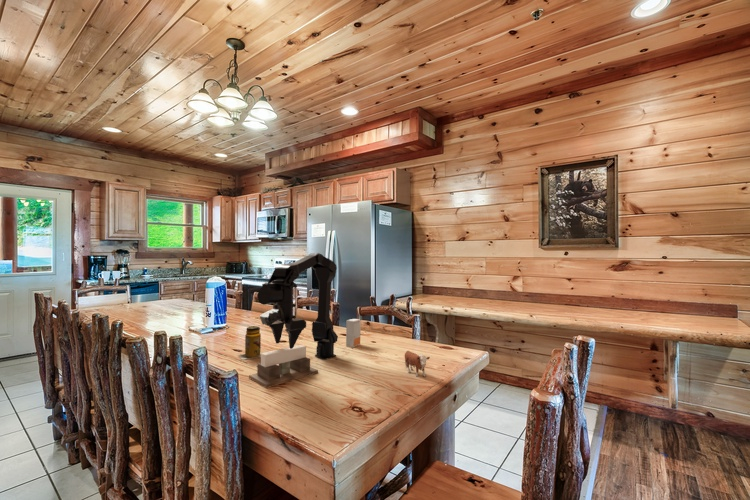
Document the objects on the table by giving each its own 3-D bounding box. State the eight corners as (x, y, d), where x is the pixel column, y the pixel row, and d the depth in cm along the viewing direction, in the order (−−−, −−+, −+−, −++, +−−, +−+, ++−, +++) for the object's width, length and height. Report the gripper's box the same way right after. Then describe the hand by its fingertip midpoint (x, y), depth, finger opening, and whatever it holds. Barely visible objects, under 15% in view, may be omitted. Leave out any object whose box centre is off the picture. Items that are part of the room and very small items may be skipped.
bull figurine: (422, 382, 116) (422, 357, 116) (402, 369, 128) (402, 347, 128) (432, 380, 118) (432, 356, 118) (412, 368, 130) (412, 346, 130)
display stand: (299, 365, 133) (299, 352, 133) (317, 372, 124) (318, 358, 124) (249, 378, 118) (249, 363, 118) (266, 387, 110) (266, 372, 110)
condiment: (263, 356, 143) (263, 327, 143) (241, 360, 138) (242, 330, 139) (258, 352, 149) (258, 324, 149) (237, 355, 144) (238, 327, 145)
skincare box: (353, 347, 158) (353, 321, 158) (345, 346, 160) (346, 320, 160) (360, 344, 163) (361, 319, 163) (353, 343, 165) (353, 318, 166)
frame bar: (301, 355, 128) (301, 344, 128) (306, 357, 126) (306, 346, 126) (260, 365, 117) (260, 353, 117) (265, 367, 115) (265, 355, 115)
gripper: (250, 300, 122) (250, 344, 122) (277, 306, 109) (277, 356, 109) (279, 298, 130) (278, 339, 130) (307, 303, 117) (307, 349, 117)
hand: (284, 345), depth 121 cm, fingers open, 9 cm apart
